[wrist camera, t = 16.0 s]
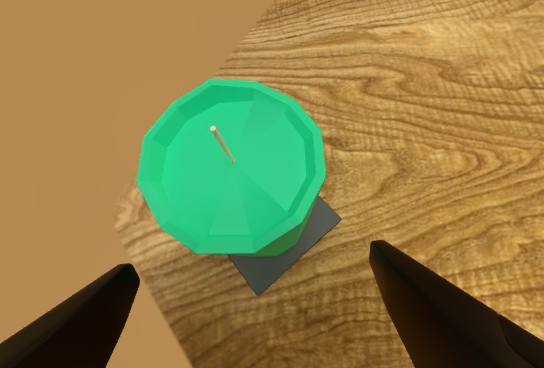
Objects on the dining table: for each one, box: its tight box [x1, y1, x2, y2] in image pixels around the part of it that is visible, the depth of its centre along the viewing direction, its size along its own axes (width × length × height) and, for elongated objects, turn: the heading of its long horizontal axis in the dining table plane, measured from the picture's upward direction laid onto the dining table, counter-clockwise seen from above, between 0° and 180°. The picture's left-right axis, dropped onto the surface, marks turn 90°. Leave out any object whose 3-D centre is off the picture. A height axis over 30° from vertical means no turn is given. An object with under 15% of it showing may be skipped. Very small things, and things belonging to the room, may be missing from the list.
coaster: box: [228, 195, 341, 296], centre depth 17 cm, size 8×8×1 cm
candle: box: [137, 79, 326, 257], centre depth 11 cm, size 6×6×12 cm
